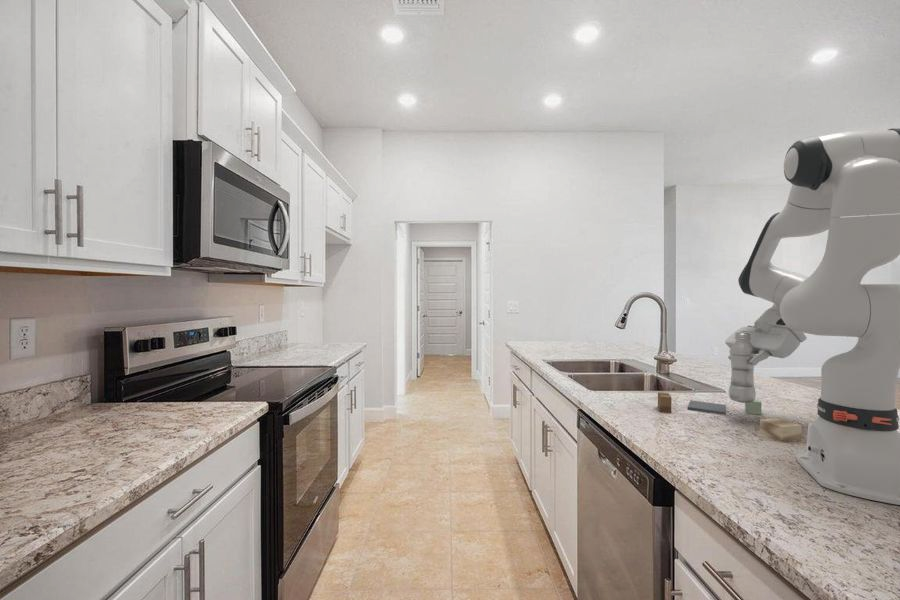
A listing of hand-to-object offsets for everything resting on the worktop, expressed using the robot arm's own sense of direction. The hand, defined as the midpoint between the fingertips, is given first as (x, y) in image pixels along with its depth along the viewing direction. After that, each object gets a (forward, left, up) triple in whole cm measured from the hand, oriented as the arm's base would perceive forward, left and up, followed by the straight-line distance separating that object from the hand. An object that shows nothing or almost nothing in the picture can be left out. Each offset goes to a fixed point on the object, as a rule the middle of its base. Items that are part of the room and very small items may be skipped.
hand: (740, 361), depth 120 cm
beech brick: (-10, -8, -17) cm, 22 cm away
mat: (+10, +9, -17) cm, 22 cm away
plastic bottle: (0, 0, -12) cm, 12 cm away
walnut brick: (0, +20, -17) cm, 26 cm away
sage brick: (+13, -3, -17) cm, 22 cm away
